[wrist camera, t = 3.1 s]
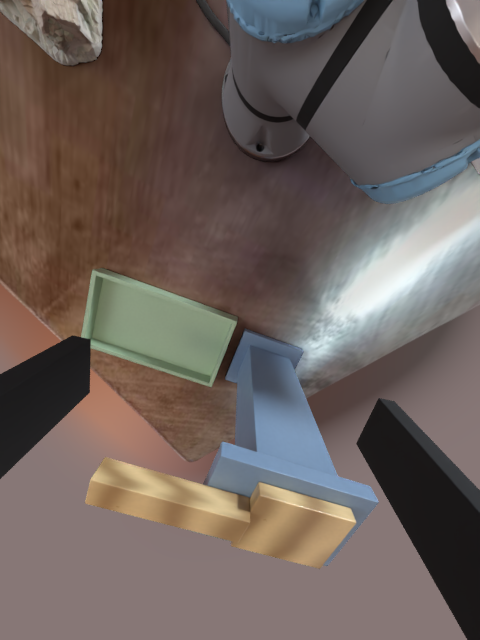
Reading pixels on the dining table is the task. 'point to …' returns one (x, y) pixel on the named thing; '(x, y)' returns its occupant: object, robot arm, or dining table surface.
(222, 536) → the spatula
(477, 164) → the canister
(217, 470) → the stand
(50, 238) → the dining table surface
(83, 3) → the ceramic cottage
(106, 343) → the tray
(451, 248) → the dining table surface
